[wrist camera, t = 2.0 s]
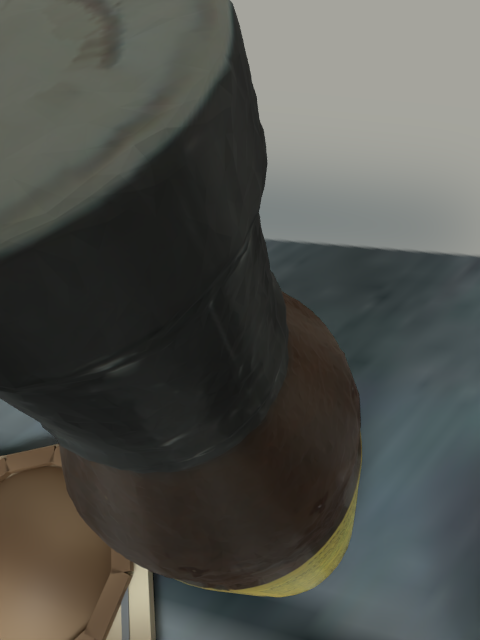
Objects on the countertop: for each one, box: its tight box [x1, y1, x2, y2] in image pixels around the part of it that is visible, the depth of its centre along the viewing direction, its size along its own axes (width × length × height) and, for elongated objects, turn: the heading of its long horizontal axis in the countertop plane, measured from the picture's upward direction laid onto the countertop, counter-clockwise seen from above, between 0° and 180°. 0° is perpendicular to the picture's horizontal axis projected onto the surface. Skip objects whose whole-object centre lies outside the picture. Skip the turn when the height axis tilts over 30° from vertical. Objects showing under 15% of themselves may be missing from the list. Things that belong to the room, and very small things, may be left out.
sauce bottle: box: [0, 0, 362, 597], centre depth 12 cm, size 6×6×20 cm
